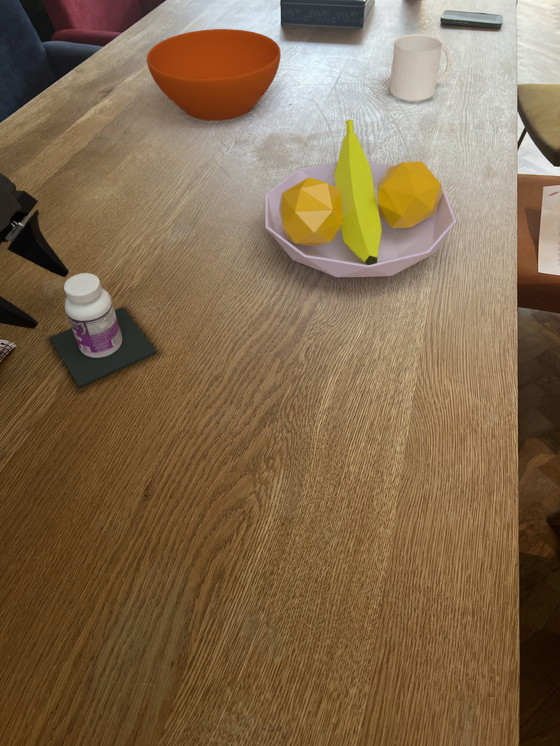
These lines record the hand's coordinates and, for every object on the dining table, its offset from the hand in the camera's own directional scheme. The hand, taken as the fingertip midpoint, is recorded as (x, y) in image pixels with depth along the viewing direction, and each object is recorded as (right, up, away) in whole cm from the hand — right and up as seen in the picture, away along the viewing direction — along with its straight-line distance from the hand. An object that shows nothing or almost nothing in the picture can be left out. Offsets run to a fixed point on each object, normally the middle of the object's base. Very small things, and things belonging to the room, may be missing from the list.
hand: (52, 299), depth 71 cm
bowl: (+14, +45, +51) cm, 69 cm away
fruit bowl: (+38, +11, +19) cm, 44 cm away
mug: (+55, +48, +53) cm, 90 cm away
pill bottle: (+4, -5, +5) cm, 8 cm away
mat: (+4, -5, +5) cm, 8 cm away
